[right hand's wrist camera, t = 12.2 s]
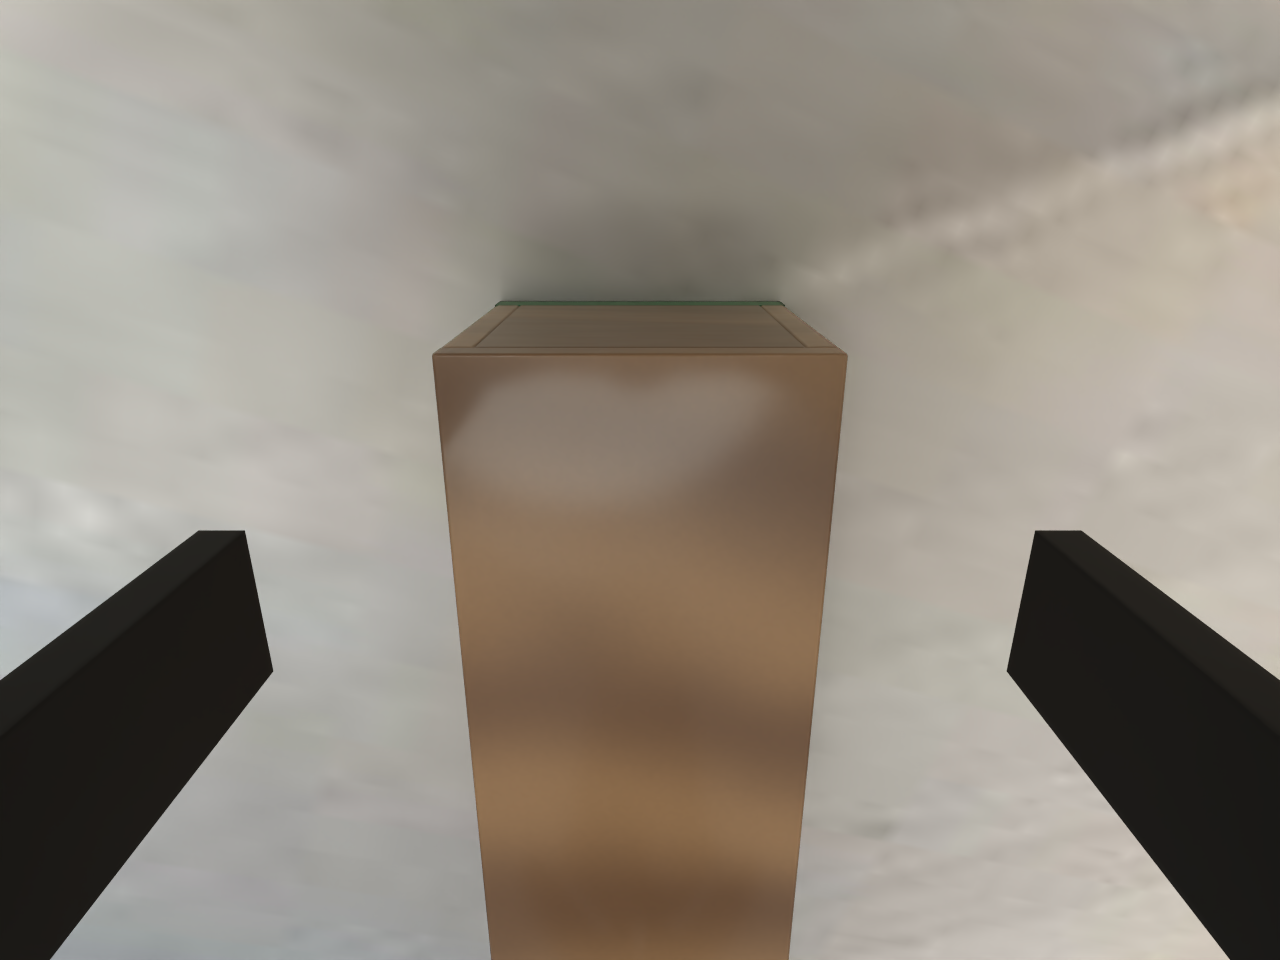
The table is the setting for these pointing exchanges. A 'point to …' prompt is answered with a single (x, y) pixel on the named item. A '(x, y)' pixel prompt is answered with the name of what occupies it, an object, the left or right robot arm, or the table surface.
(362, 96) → the table surface
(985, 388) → the table surface
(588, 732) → the cabinet
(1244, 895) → the right robot arm
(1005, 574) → the table surface
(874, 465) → the table surface
